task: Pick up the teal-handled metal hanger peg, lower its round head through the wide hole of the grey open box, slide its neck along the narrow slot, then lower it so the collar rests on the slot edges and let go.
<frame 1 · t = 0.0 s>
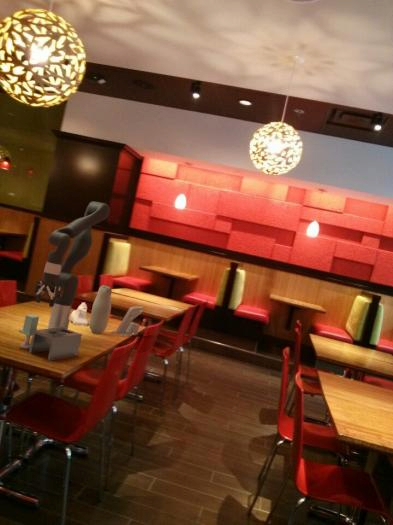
hand: (44, 304, 215), 17 cm above the table, tool pointing down, fingers open, 8 cm apart
grey vase: (96, 333, 256), on the table
hanger peg: (25, 347, 198), on the table
soft serve ice cream: (78, 323, 272), on the table
phone holder: (125, 333, 271), on the table
grey open box: (53, 353, 197), on the table
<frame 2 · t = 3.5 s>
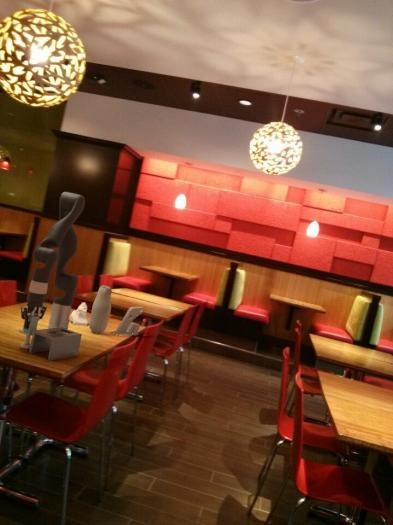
hand: (29, 328, 198), 9 cm above the table, tool pointing down, fingers closed on hanger peg, 4 cm apart
hanger peg: (25, 347, 198), on the table, touching gripper
everything else where it was.
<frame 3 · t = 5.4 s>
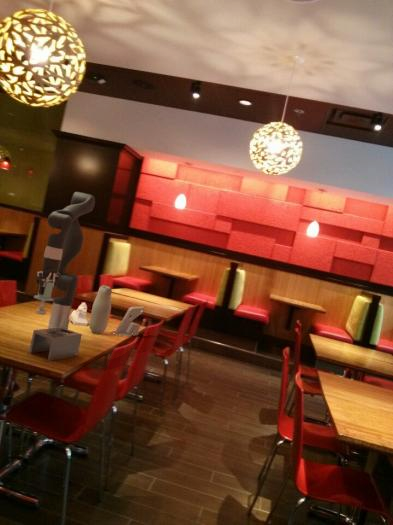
hand: (44, 294, 198), 25 cm above the table, tool pointing down, fingers closed on hanger peg, 4 cm apart
hanger peg: (40, 313, 198), point 16 cm above the table, touching gripper
everything else where it was.
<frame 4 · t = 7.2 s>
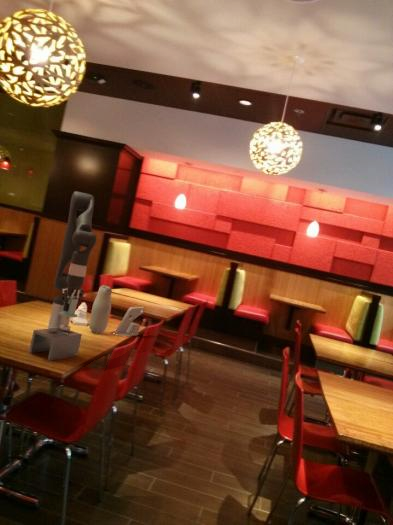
hand: (68, 310, 201), 20 cm above the table, tool pointing down, fingers closed on hanger peg, 4 cm apart
hanger peg: (64, 329, 201), point 11 cm above the table, touching gripper
everything else where it was.
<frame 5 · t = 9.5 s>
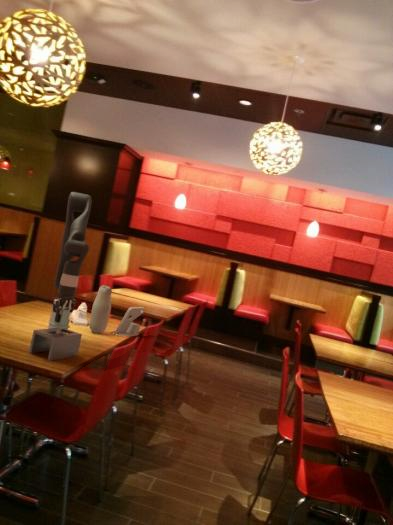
hand: (60, 321, 197), 15 cm above the table, tool pointing down, fingers closed on hanger peg, 4 cm apart
hanger peg: (56, 340, 197), point 6 cm above the table, touching gripper
when the fingers open (13 cm above the table, at t = 11.3 s): hanger peg stays where it is, resting on grey open box.
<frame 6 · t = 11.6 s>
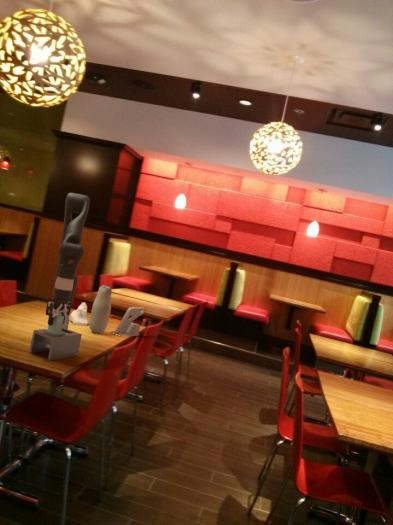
hand: (55, 324, 194), 14 cm above the table, tool pointing down, fingers open, 6 cm apart
hanger peg: (50, 347, 195), point 3 cm above the table, touching grey open box
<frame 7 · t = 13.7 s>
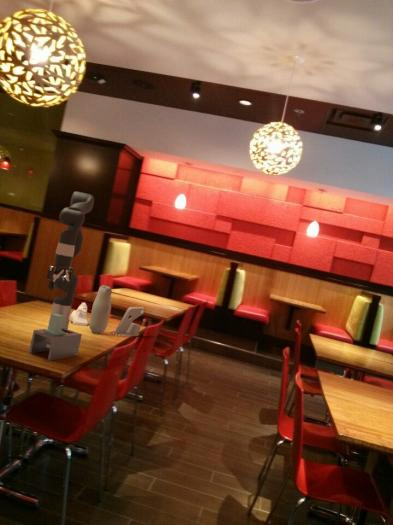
hand: (57, 289, 197), 29 cm above the table, tool pointing down, fingers open, 8 cm apart
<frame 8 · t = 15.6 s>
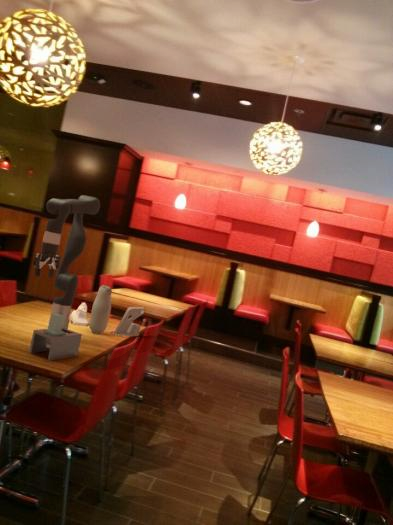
hand: (43, 276, 203), 32 cm above the table, tool pointing down, fingers open, 8 cm apart
at the end: hanger peg 0.6 cm from the target spot on the grey open box, point 3.5 cm above the grey open box's base; hanger peg tilted 0°; the gripper is holding nothing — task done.
